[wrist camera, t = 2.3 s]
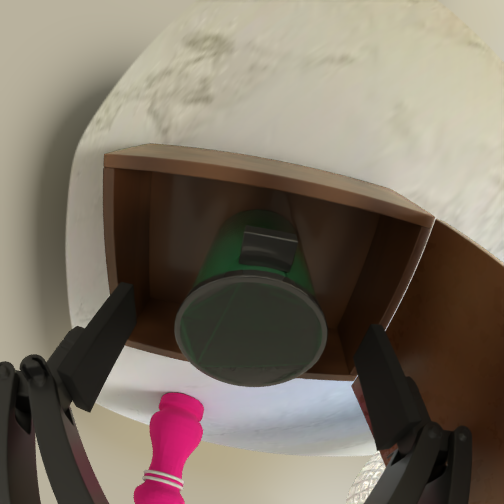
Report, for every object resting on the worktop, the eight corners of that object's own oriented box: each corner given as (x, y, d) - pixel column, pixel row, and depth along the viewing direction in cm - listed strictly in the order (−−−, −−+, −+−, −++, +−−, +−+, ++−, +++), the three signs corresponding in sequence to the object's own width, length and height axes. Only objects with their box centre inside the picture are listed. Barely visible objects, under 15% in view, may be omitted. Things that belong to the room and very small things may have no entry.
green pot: (217, 181, 19) (176, 232, 10) (319, 200, 20) (361, 265, 11) (204, 296, 24) (175, 385, 15) (288, 310, 24) (296, 403, 15)
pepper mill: (155, 405, 35) (121, 517, 17) (162, 383, 32) (121, 517, 14) (199, 420, 36) (178, 534, 18) (213, 401, 33) (191, 536, 15)
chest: (146, 297, 25) (118, 343, 19) (149, 143, 19) (103, 153, 13) (339, 329, 26) (353, 381, 20) (392, 189, 20) (435, 217, 14)
